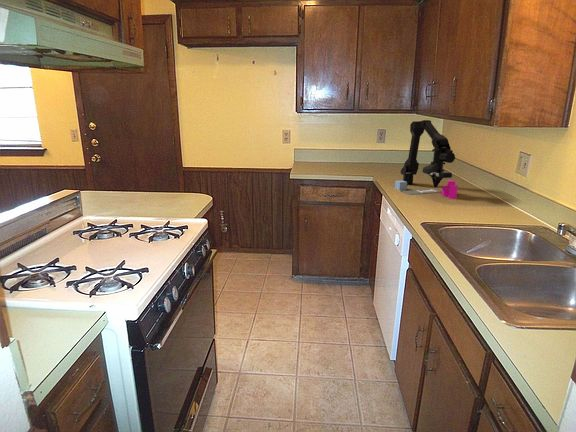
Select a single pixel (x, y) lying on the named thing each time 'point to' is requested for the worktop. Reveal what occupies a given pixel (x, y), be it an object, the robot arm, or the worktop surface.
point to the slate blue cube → (401, 185)
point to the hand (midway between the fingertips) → (435, 187)
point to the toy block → (450, 190)
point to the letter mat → (421, 191)
